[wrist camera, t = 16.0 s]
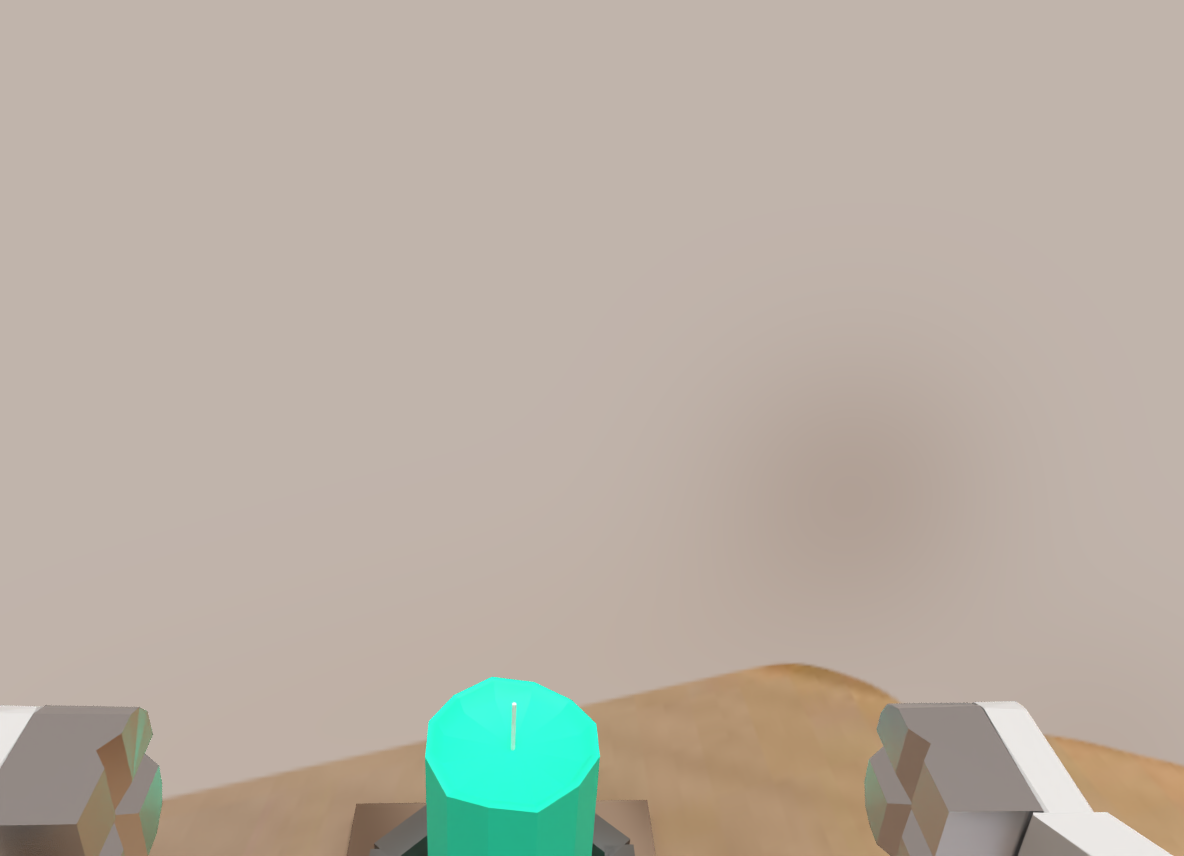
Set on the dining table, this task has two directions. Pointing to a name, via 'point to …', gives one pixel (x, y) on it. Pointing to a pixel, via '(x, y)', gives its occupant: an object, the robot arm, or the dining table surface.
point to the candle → (511, 773)
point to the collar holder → (399, 830)
